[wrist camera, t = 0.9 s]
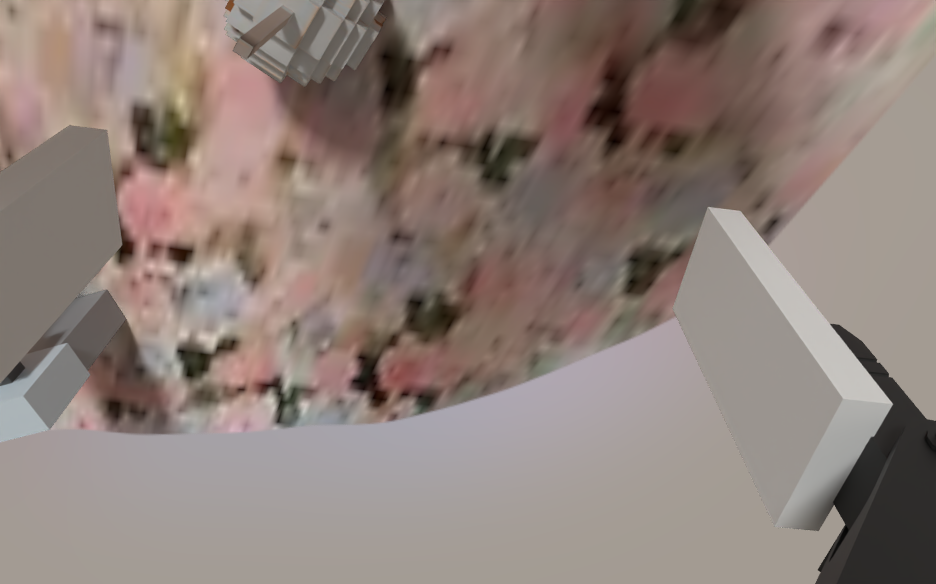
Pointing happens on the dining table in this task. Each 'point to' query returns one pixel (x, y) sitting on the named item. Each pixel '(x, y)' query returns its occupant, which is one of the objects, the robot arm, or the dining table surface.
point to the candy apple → (303, 35)
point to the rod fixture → (57, 366)
